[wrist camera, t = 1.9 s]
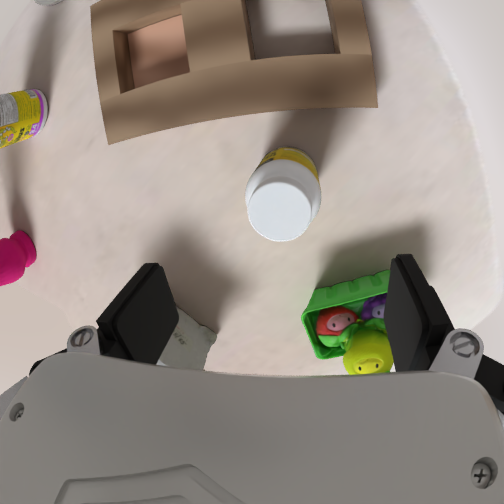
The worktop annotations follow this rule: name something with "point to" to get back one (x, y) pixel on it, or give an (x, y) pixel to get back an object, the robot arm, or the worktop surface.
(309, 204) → the supplement bottle
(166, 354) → the grey block
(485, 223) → the worktop surface
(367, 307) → the fruit basket
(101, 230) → the worktop surface
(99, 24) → the socket board
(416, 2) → the worktop surface
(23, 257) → the pepper mill
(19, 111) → the supplement bottle
